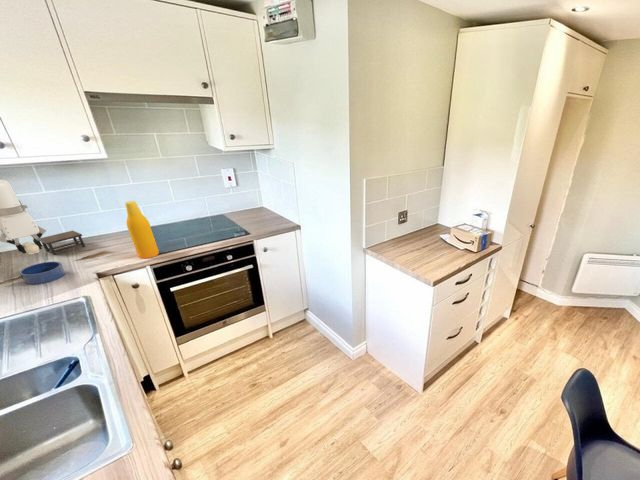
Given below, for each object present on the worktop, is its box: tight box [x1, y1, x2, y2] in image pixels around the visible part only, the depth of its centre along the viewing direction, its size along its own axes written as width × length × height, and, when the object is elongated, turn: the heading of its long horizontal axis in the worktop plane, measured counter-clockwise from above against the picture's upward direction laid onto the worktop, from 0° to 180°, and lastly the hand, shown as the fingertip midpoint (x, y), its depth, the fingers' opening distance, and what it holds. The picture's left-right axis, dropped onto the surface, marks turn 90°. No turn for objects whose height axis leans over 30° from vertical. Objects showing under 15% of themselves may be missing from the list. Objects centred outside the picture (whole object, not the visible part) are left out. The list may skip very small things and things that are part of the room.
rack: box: [39, 230, 86, 256], centre depth 169 cm, size 14×10×9 cm
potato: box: [21, 241, 40, 255], centre depth 141 cm, size 4×7×4 cm, turn 62°
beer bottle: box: [124, 200, 160, 259], centre depth 165 cm, size 9×9×29 cm
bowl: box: [19, 261, 66, 285], centre depth 147 cm, size 13×13×5 cm
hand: (31, 250), depth 141 cm, fingers closed on potato, 4 cm apart
